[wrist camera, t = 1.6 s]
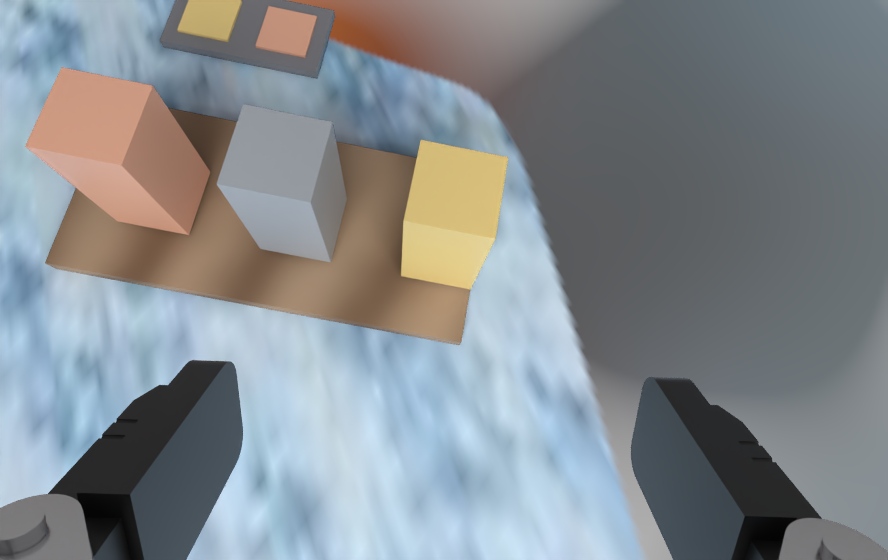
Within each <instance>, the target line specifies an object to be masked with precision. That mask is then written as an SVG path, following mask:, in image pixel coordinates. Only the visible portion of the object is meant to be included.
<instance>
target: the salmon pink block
mask: <svg viewBox="0 0 888 560" xmlns="http://www.w3.org/2000/svg"><path fill="white" fill-rule="evenodd" d="M25 147H26V148H28V149H29V150H30V151H31V152H33V153H34V154H35V155H36V156H38V157H39V158H40V159H41V160H42V161H44V162H45V163H46V164H47V165H49V166H50V167H51V168H52V169H54V170H55V171H56V172H57V173H58V174H60V175H61V176H62V177H63V178H65V179H66V180H67V181H68V182H69V183H71V184H72V185H73V186H74V187H76V188H77V189H78V190H79V191H81V192H82V193H83V194H84V195H85V196H87V197H88V198H89V199H90V200H92V201H93V202H94V203H95V204H97V205H98V206H99V207H100V208H101V209H103V210H104V211H105V212H106V213H108V214H109V215H110V216H111V217H113V218H114V219H115V220H116V221H118V222H124V223H129V224H134V225H139V226H144V227H149V228H155V229H160V230H165V231H170V232H175V233H180V234H186V235H189V234H190V231H191V228H192V225H193V222H194V219H195V216H196V213H197V210H198V207H199V204H200V201H201V198H202V195H203V192H204V189H205V186H206V184H207V181H208V178H209V175H210V171H209V169H208V168H207V166H206V165H205V163H204V162H203V160H202V159H201V157H200V156H199V154H198V153H197V151H196V150H195V148H194V147H193V145H192V144H191V142H190V141H189V139H188V138H187V136H186V135H185V133H184V132H183V130H182V129H181V127H180V126H179V124H178V123H177V121H176V120H175V118H174V117H173V115H172V114H171V112H170V111H169V109H168V108H167V106H166V105H165V103H164V102H163V100H162V99H161V97H160V96H159V94H158V93H157V91H156V90H155V88H154V87H153V86H152V85H147V84H142V83H137V82H132V81H127V80H122V79H117V78H112V77H107V76H102V75H98V74H93V73H88V72H83V71H78V70H73V69H68V68H63V67H61V70H60V72H59V74H58V76H57V78H56V80H55V83H54V85H53V87H52V89H51V91H50V93H49V96H48V98H47V100H46V102H45V104H44V107H43V109H42V111H41V113H40V115H39V117H38V120H37V122H36V124H35V126H34V128H33V130H32V133H31V135H30V137H29V139H28V141H27V143H26V146H25Z"/></svg>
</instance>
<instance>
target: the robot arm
mask: <svg viewBox="0 0 888 560" xmlns="http://www.w3.org/2000/svg"><path fill="white" fill-rule="evenodd" d="M242 440H243V426H242V417H241V409H240V400H239V391H238V383H237V374H236V369H235V366H234V364H233V363H232V362H226V361H198V360H192V361H189V362H188V363H187V364H186V365H185V366H184V367H183V369H182V370H181V371H180V372H179V373H178V374H177V376H176V377H175V378H174V379H173V380H172V381H171V383H170V384H169V385H159V386H157V387H155V388H154V389H152V390H150V391H149V392H147V393H145V394H144V395H142V396H140V397H139V398H137V399H135V400H134V401H133V402H132V403H131V404H130V405H129V406H128V407H127V408H126V409H125V410H124V412H123V413H122V414H121V415H120V416H119V417H118V418H117V422H116V423H112V425H111V426H110V427H109V428H108V429H107V430H106V431H105V432H104V433H103V434H102V439H98V440H97V441H96V442H95V443H94V444H93V445H92V446H91V447H90V448H89V450H88V451H87V452H86V453H85V454H84V455H83V456H82V457H81V458H80V459H79V460H78V462H77V463H76V464H75V465H74V466H73V467H72V468H71V469H70V470H69V471H68V472H67V473H66V475H65V476H64V477H63V478H62V479H61V480H60V481H59V482H58V483H57V484H56V485H55V487H54V488H53V489H52V490H51V491H50V492H49V493H48V494H45V495H37V496H33V497H28V498H25V499H22V500H18V501H16V502H13V503H11V504H8V505H6V506H4V507H2V508H0V560H186V559H187V557H188V555H189V553H190V551H191V549H192V547H193V545H194V544H195V542H196V540H197V538H198V536H199V534H200V532H201V530H202V528H203V526H204V524H205V522H206V521H207V519H208V517H209V515H210V513H211V511H212V509H213V507H214V505H215V503H216V501H217V499H218V497H219V496H220V494H221V492H222V490H223V488H224V486H225V484H226V482H227V480H228V478H229V476H230V474H231V473H232V471H233V469H234V467H235V465H236V463H237V461H238V458H239V455H240V452H241V447H242ZM631 460H632V467H633V471H634V474H635V477H636V479H637V481H638V483H639V486H640V488H641V490H642V492H643V494H644V496H645V499H646V501H647V503H648V505H649V507H650V509H651V512H652V514H653V516H654V518H655V521H656V523H657V525H658V527H659V529H660V531H661V534H662V536H663V538H664V540H665V542H666V545H667V547H668V549H669V551H670V553H671V555H672V558H673V560H888V552H887V551H886V550H885V549H884V548H882V547H881V546H880V545H879V544H877V543H876V542H874V541H873V540H872V539H870V538H869V537H867V536H865V535H863V534H862V533H860V532H858V531H855V530H854V529H852V528H849V527H847V526H845V525H842V524H839V523H836V522H833V521H829V520H824V519H822V518H821V517H820V516H819V515H818V513H817V512H816V511H815V510H814V508H813V507H812V506H811V505H810V504H809V502H808V501H807V500H806V499H805V498H804V496H803V495H802V494H801V493H800V492H799V490H798V489H797V488H796V487H795V485H794V484H793V483H792V482H791V481H790V480H789V478H788V477H787V476H786V475H785V473H784V472H783V471H782V470H781V468H780V467H779V466H778V465H777V464H776V462H772V458H771V456H770V455H769V454H768V453H767V452H766V450H765V449H764V448H763V447H762V446H759V445H758V441H757V439H756V438H755V437H754V436H753V435H752V433H751V432H750V431H749V430H748V428H747V427H746V426H745V425H744V424H743V422H741V421H740V420H738V419H737V418H735V417H734V416H733V415H731V414H730V413H728V412H727V411H725V410H724V409H723V408H721V407H720V406H718V405H710V404H709V403H708V401H707V400H706V399H705V397H704V396H703V395H702V394H701V392H700V391H699V390H698V388H697V387H696V386H695V385H694V383H692V381H691V380H690V379H686V378H658V377H657V378H655V377H649V378H647V379H646V381H645V382H644V385H643V388H642V393H641V398H640V403H639V409H638V413H637V418H636V423H635V428H634V433H633V438H632V445H631Z"/></svg>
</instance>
